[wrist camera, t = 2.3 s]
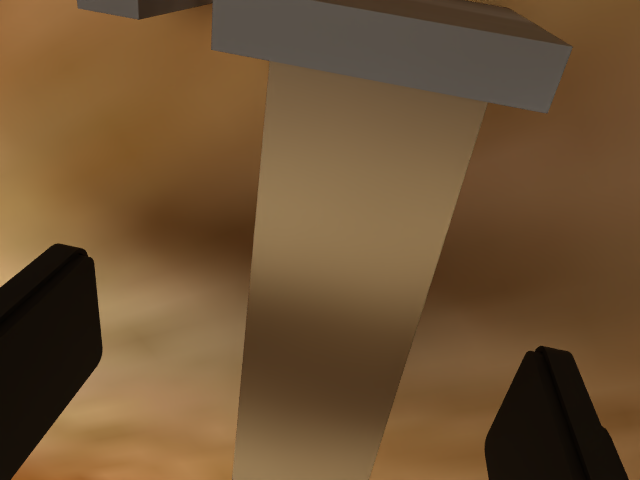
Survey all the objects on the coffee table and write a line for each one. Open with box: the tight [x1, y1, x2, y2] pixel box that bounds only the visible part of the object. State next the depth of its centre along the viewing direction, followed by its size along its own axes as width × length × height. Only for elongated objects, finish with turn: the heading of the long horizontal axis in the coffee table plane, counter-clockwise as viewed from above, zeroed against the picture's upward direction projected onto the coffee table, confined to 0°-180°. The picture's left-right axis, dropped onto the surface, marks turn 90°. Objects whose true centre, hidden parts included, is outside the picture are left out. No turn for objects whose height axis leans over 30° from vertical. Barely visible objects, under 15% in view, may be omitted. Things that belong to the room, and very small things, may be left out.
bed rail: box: [211, 0, 573, 480], centre depth 12 cm, size 13×4×5 cm, turn 172°
